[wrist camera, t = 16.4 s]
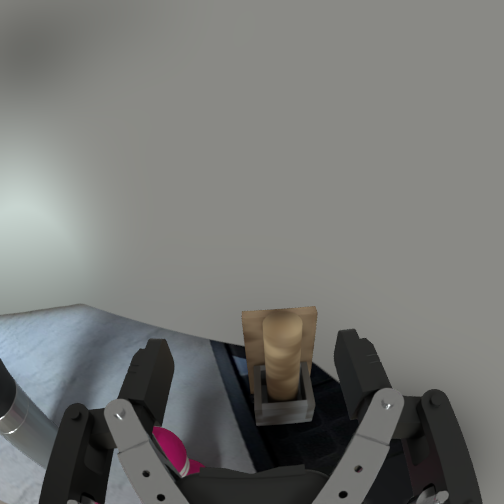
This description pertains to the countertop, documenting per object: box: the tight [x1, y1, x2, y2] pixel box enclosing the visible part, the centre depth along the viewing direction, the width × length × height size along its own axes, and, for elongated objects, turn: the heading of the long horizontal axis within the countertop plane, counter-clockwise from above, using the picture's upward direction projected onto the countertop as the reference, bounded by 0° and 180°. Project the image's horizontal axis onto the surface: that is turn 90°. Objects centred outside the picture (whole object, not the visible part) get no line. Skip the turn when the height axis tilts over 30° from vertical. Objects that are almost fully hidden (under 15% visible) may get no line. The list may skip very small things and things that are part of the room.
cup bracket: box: [242, 306, 317, 426], centre depth 36 cm, size 10×10×18 cm
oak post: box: [263, 311, 303, 403], centre depth 33 cm, size 4×4×16 cm
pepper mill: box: [152, 426, 205, 477], centre depth 22 cm, size 7×7×20 cm
